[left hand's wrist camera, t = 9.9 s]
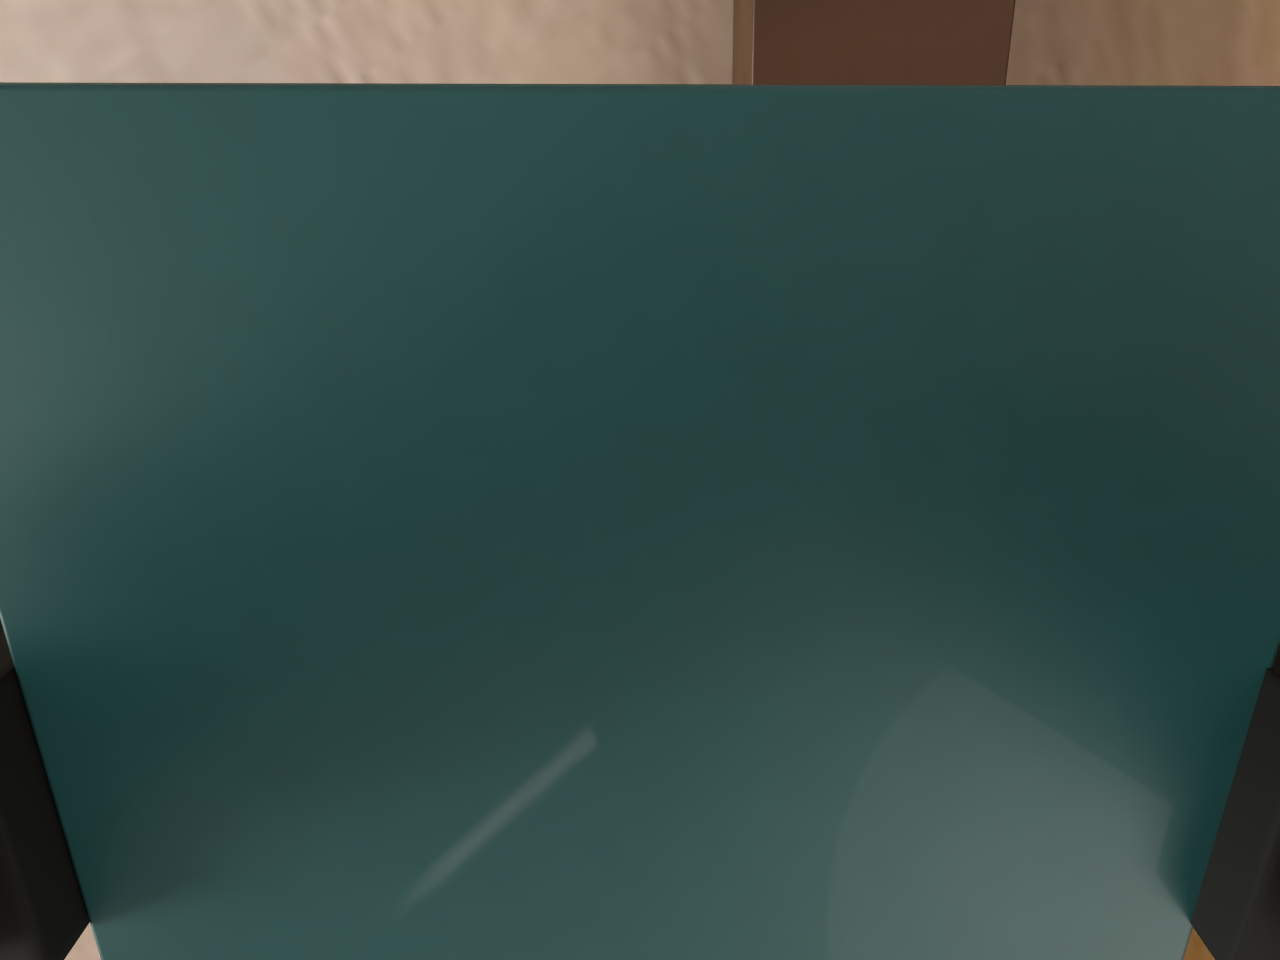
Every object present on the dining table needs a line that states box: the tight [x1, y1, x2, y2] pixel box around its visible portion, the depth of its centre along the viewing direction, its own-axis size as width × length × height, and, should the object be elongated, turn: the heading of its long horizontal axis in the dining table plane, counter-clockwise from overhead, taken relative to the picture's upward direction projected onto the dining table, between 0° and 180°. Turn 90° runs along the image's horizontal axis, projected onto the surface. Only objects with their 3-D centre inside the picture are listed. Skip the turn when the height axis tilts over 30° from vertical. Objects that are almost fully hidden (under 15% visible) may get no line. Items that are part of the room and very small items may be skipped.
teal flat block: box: [0, 83, 1280, 960], centre depth 10 cm, size 11×10×5 cm
